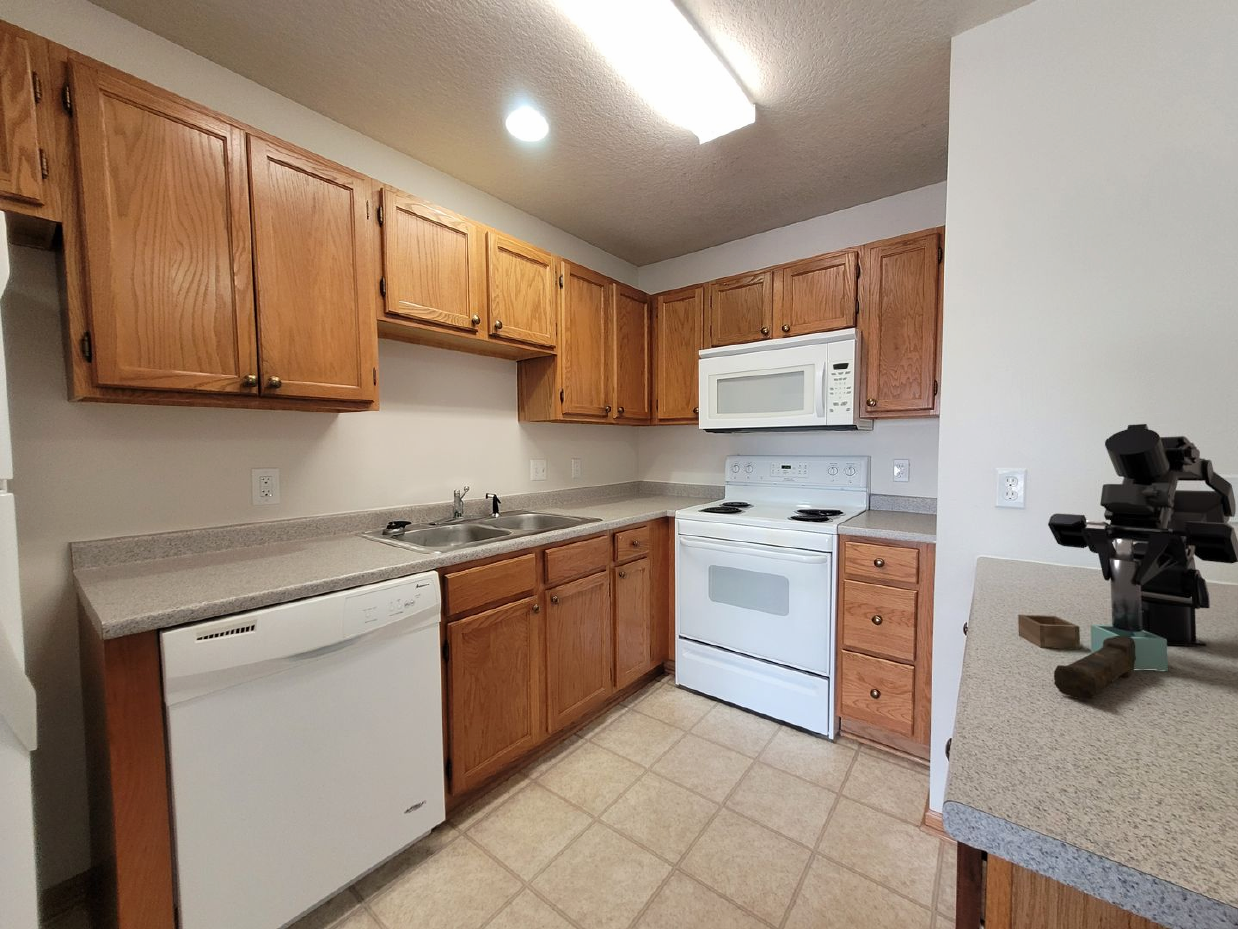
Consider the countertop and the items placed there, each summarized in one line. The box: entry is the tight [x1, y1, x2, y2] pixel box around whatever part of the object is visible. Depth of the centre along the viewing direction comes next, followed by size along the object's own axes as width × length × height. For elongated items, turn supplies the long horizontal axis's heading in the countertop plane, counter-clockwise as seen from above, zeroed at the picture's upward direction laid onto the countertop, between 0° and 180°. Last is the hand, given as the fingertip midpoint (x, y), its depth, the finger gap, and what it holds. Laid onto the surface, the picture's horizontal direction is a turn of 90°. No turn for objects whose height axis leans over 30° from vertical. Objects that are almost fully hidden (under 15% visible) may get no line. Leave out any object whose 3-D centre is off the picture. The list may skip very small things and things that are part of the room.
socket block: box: [1017, 614, 1081, 650], centre depth 77 cm, size 5×5×4 cm
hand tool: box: [1053, 635, 1136, 701], centre depth 63 cm, size 19×4×5 cm, turn 115°
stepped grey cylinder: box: [1110, 538, 1142, 632], centre depth 69 cm, size 3×3×13 cm
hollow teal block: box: [1090, 624, 1169, 671], centre depth 69 cm, size 5×5×4 cm
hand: (1121, 581), depth 68 cm, fingers closed on stepped grey cylinder, 3 cm apart
